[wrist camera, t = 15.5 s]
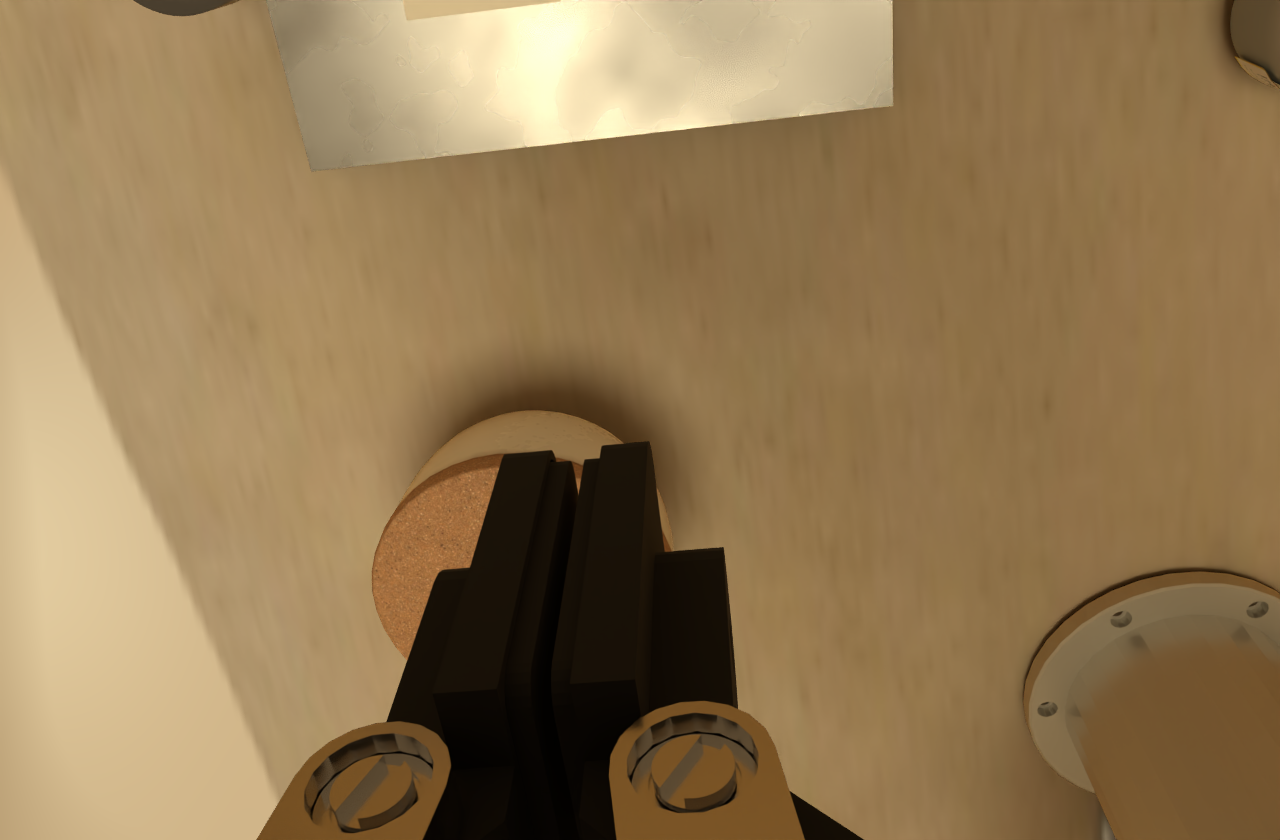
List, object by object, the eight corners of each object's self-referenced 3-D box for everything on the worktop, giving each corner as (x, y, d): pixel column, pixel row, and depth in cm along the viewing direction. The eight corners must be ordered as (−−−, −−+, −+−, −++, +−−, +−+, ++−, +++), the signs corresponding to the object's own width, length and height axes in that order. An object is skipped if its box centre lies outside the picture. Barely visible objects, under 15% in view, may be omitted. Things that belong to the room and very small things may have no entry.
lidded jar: (407, 362, 41) (339, 488, 33) (682, 370, 41) (683, 499, 33) (428, 584, 46) (374, 742, 38) (673, 592, 46) (672, 753, 38)
